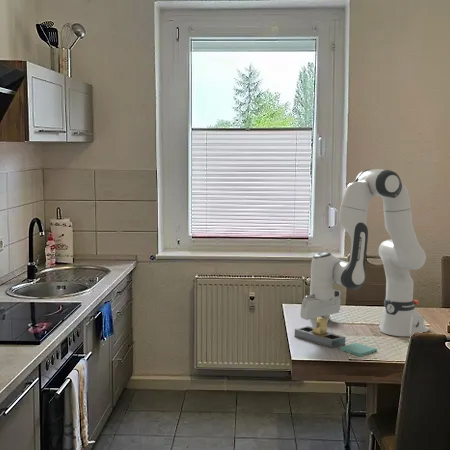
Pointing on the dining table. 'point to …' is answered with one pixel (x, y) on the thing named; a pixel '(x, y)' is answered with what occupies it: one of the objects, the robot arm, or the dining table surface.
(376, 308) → the dining table surface
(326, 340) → the grey peg holder tray
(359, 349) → the teal board
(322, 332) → the brass peg
